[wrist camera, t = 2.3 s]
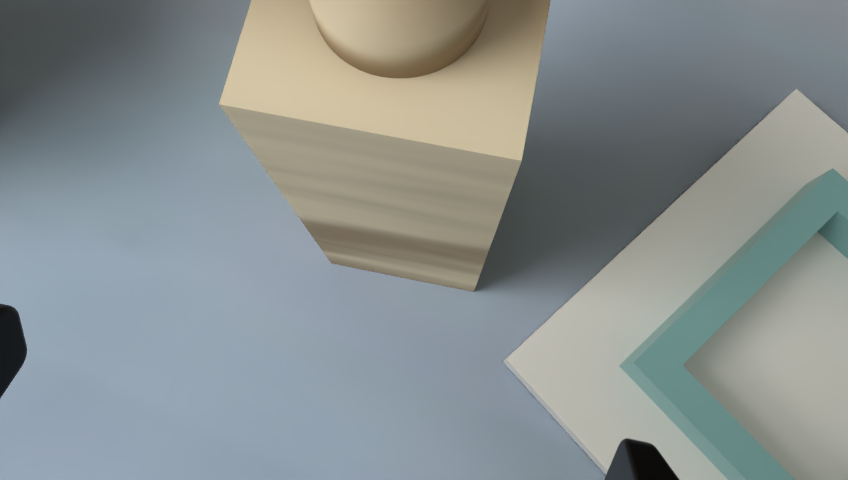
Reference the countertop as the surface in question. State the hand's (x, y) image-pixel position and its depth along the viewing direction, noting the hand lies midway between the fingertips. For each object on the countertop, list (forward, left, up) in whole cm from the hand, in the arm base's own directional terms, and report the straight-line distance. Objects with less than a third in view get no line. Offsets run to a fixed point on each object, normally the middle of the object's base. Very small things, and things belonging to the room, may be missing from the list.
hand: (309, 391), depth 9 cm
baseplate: (-2, -14, -12) cm, 18 cm away
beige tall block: (+6, -2, -12) cm, 14 cm away
